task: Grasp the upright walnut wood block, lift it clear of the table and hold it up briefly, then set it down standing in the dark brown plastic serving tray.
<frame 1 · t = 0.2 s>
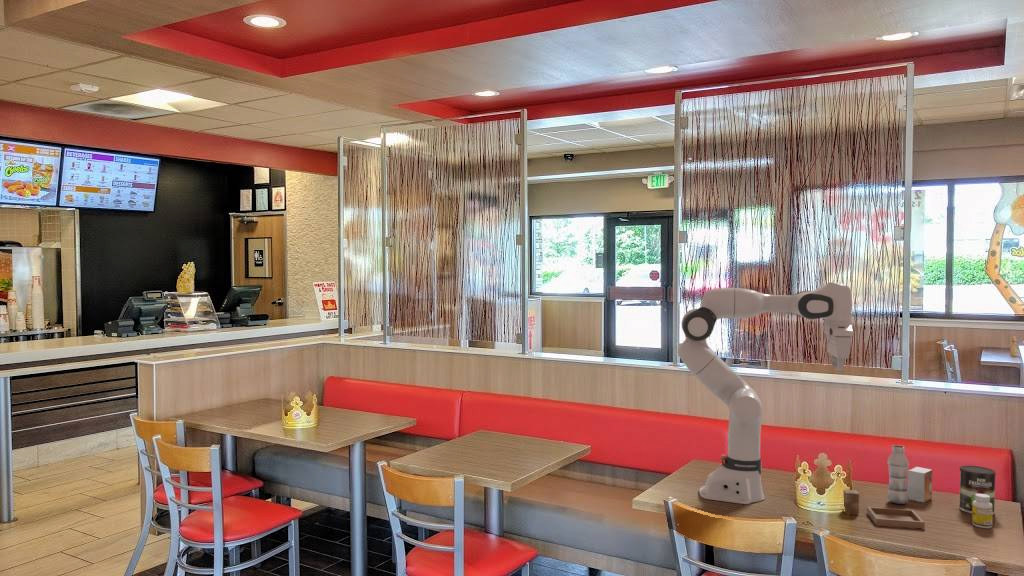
hand: (837, 368, 253), 47 cm above the table, fingers open, 8 cm apart
plastic bottle: (897, 503, 254), on the table
block: (850, 512, 245), on the table
supplement bottle: (982, 526, 232), on the table
coffee can: (976, 511, 247), on the table
small box: (919, 499, 259), on the table
tray: (894, 521, 236), on the table
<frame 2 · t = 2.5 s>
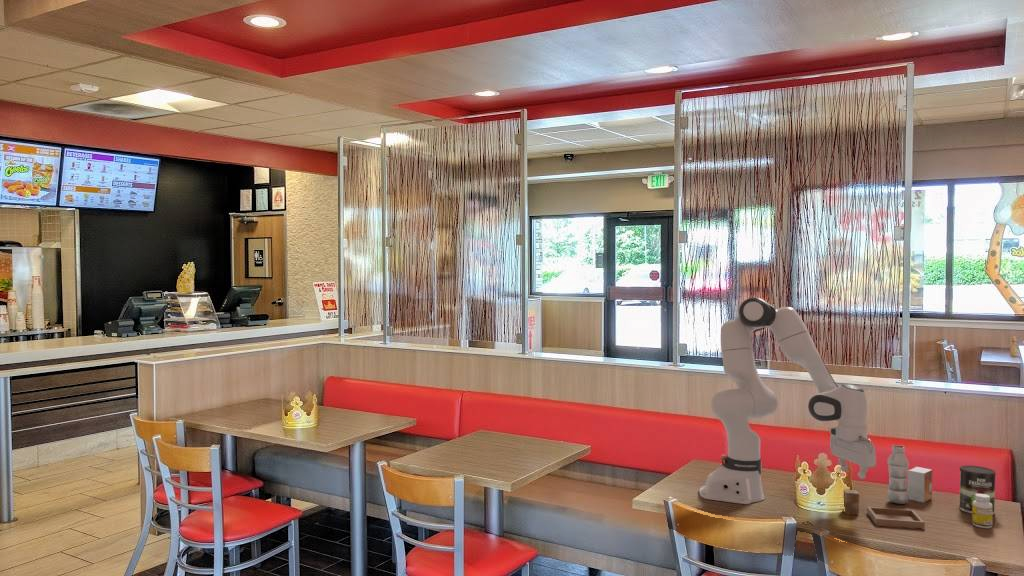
hand: (852, 474, 244), 13 cm above the table, fingers open, 8 cm apart
nothing on the table moved.
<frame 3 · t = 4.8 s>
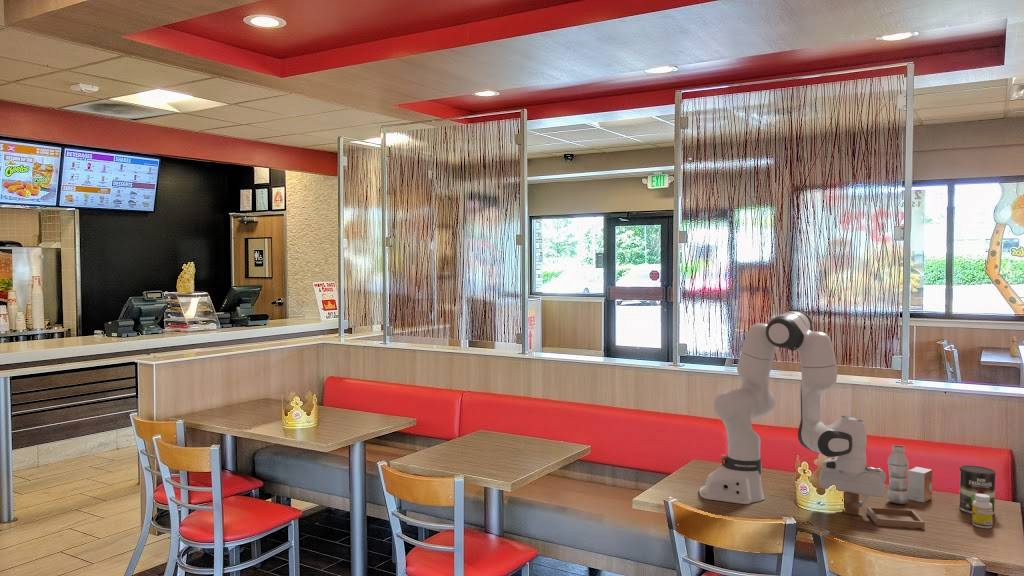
hand: (851, 505, 245), 2 cm above the table, fingers closed on block, 5 cm apart
block: (850, 512, 245), on the table, touching gripper
everything else where it was.
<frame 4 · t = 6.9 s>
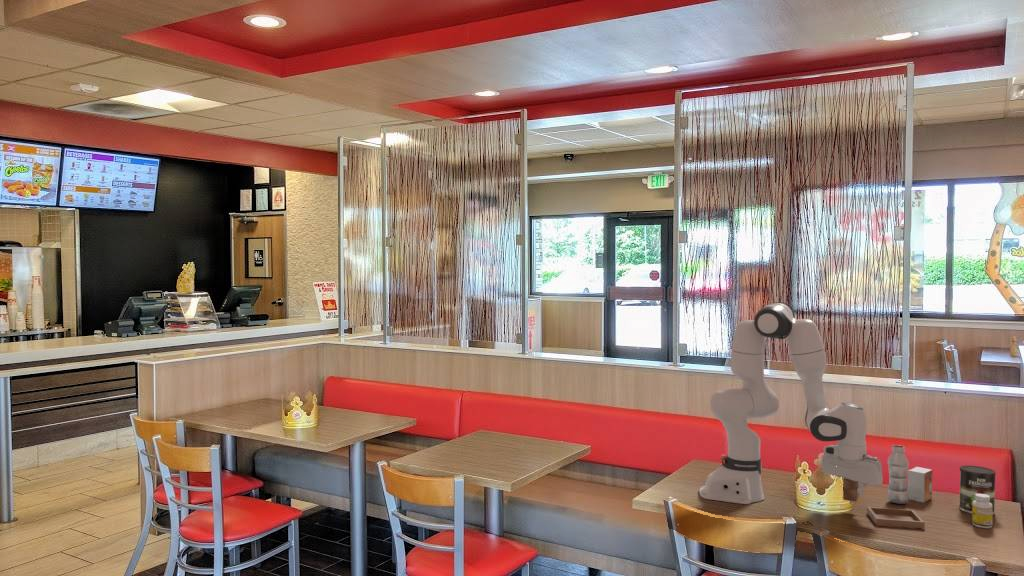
hand: (850, 492, 245), 7 cm above the table, fingers closed on block, 5 cm apart
block: (850, 499, 245), point 4 cm above the table, touching gripper
everything else where it was.
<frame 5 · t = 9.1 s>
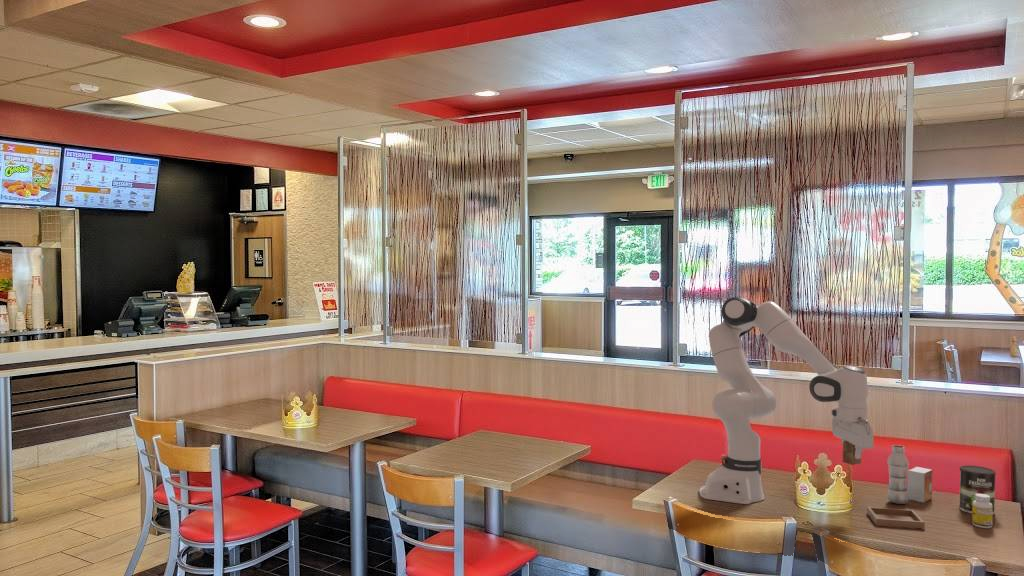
hand: (852, 455, 244), 19 cm above the table, fingers closed on block, 5 cm apart
block: (851, 462, 244), point 17 cm above the table, touching gripper
everything else where it was.
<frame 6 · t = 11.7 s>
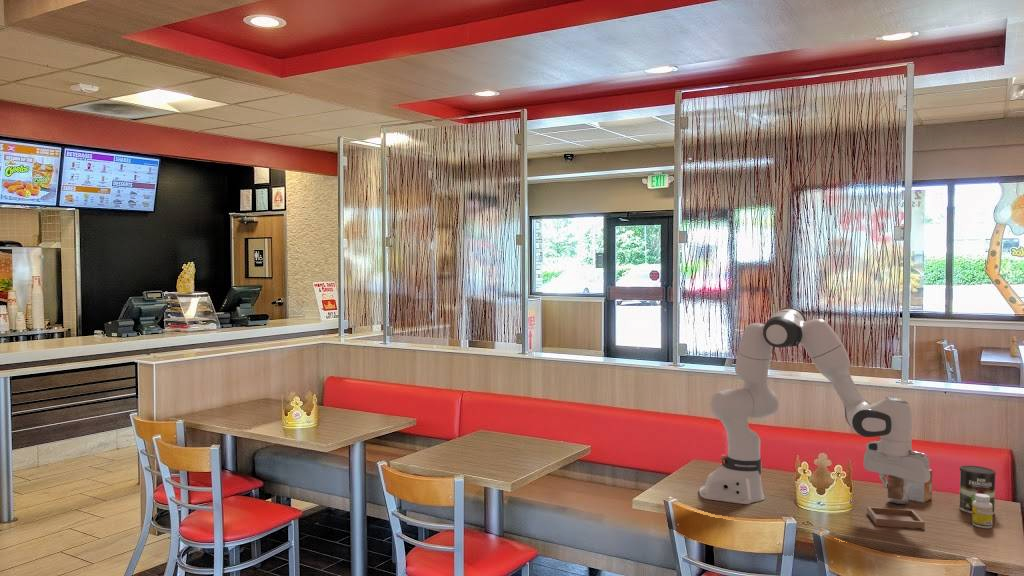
hand: (895, 490, 236), 10 cm above the table, fingers closed on block, 5 cm apart
block: (895, 497, 236), point 8 cm above the table, touching gripper
everything else where it was.
when the fingers open (4 cm above the table, at t = 13.6 s): block drops 1 cm, resting on tray.
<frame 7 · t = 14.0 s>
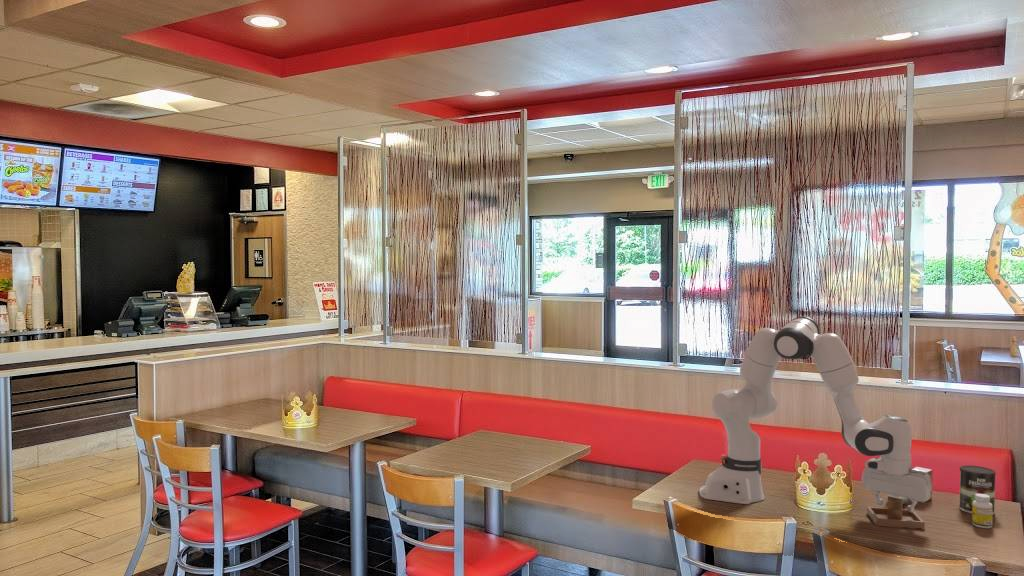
hand: (894, 507, 236), 4 cm above the table, fingers open, 8 cm apart
block: (894, 519, 236), point 1 cm above the table, touching tray
everything else where it was.
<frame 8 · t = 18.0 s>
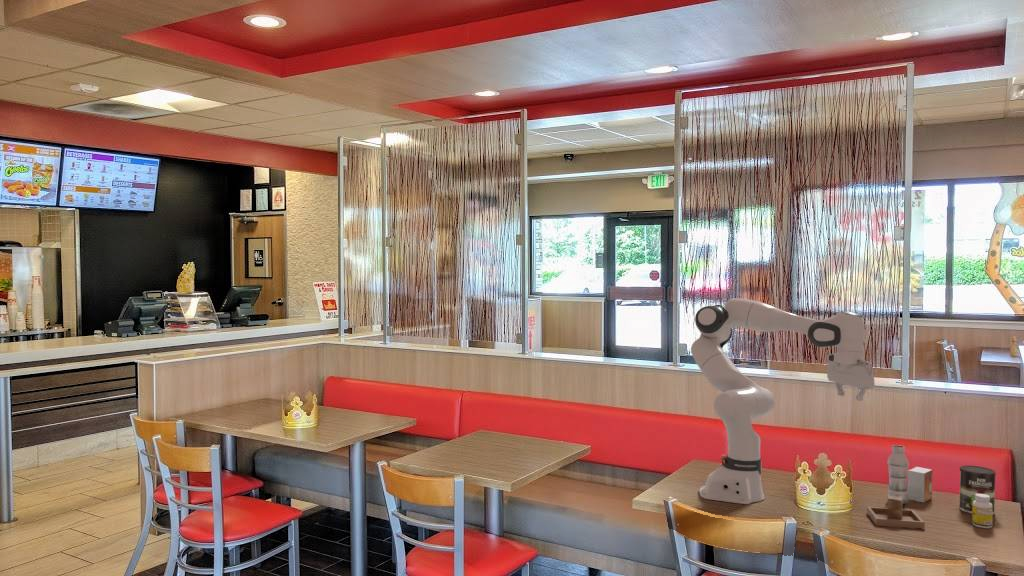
hand: (849, 398, 252), 37 cm above the table, fingers open, 8 cm apart
nothing on the table moved.
at the end: block inside the target area on the tray (0.1 cm from its centre), point 0.6 cm above the tray's base; block point 0.6 cm above the table; the gripper is holding nothing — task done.
